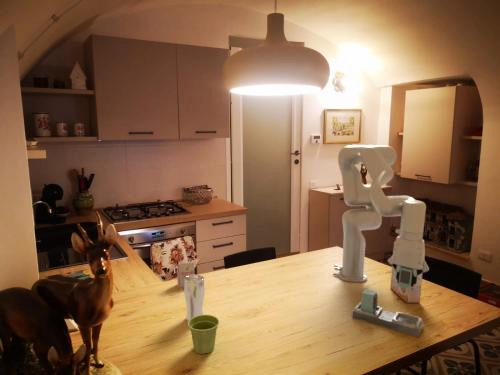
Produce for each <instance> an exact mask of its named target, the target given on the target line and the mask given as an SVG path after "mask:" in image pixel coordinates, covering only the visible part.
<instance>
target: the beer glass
mask: <svg viewBox="0 0 500 375" xmlns="http://www.w3.org/2000/svg"><path fill="white" fill-rule="evenodd" d="M183 289H184V299H185V304H186V309H187V310H186V316H185V319H186V321H187V322H188V321H189V320H190V319H191V318H193V317H195V316H199V315H204V312H203V304H204V298H205V278H204V276H203V275H201V274H195V275H189V276H187V277H185V285H184V287H183Z"/></svg>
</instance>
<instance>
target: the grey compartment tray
mask: <svg viewBox="0 0 500 375" xmlns="http://www.w3.org/2000/svg"><path fill="white" fill-rule="evenodd" d="M361 302H362V301H359V302H358V304H357V305H356V306H355V307H354V308H353V310H352V316H351V317H352V318H353V319H356V320H359V321H363V322H367V323H369V324H374V325H376V326H380V327H383V328H385V329H386V328H387V329H390V330H393V331H397V332H399V333H404V334H406V335H410V336H413V337H416V338H417V337H418V338H419V337H420V335H421V333H422V330H423V328H424V320H423V318H422V317H419V316H417V315H413V314H410V313H406V312H402V311H396V312H391V311H388V310H383V307H382V306H379V305H377V307H376V310H375V312H374V313H371V312H368V311H364V310H361Z"/></svg>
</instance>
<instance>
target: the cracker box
mask: <svg viewBox="0 0 500 375" xmlns="http://www.w3.org/2000/svg"><path fill="white" fill-rule="evenodd" d="M394 245H395V241H394V242H393V248H392V252H393V251H394ZM422 268H423V267H422ZM422 268H421V269H422ZM390 274H391V275H390V287H389V288H390V290H391V291H393V293H395V294H396V295H397V296H398V297H400V298H401V299H402V300H403V301H404V302H405V303H408V304H411V303H412V304H414V303H421V295H422V294H421V293H422V283H423V282H422V281H423V273H421V274H419V275H418V276H417V282H416V284H414V286H413V287H411V288H410V289H408V288H405V287H401V286H398V285H399V283H397V279H396V274H397V272H396V270H395V269H394V267H393V266H392V265H391V273H390Z"/></svg>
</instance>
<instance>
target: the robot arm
mask: <svg viewBox="0 0 500 375" xmlns="http://www.w3.org/2000/svg"><path fill="white" fill-rule="evenodd" d="M338 152H339V153H338V157H337V163H338V167H339V170H340V173H341V179H342V181H341V182H342V192H343V201H344V203H345V204H346V205H347V207H348V206H349V207H362V206H363V207H365V208H355V209H353V208H352V209H349V210H346V211H344V213H343V214H342V216H341V217H342V218H341V222H342V229H343V242H342V243H343V246H342V264H341V265H339V264H334V265H333V269H334V270H335V271H339V272H338V278H339V279H340V280H343V281H345V282H349V283H362V282H365V281H367V280H368V276H367V274H366V273H365V257H366V255H365V253H366V238H365V236H364V235H363V233H362V231H371V230H377V229H379V228H380V227H381V226H382V222H383V221H382V220H383V218H384V217H386V218H388V217H389V218H390V217H401V218H400V227H399V229H397V228H396V229H395V231H394V232H395V234H398V236H396V239H395V241H394V242H395V245H394V244H393V247H394V251H393V250H392V255H391V256H390V257H389V258H388V259H387V262H388V263H389V265H391V267H392V266H393V267H394V269H395V270H396V272H397V274H396V279H397V283H399V276H400V267H401V266H403V267H407V268H412V269H413V275H412V280H411V286H412V287H413V286H414V284H416V282H417V276H418V275H419V274H421V273H422V274H423V273H427V272H429V270H430V268H429V267H430V266H428V264H427V262H426V260H425V258H426V257H425V255H426V254H425V253H426V249H425V248H426V247H425V246H426V245H425V240H424V239H423V237H424V228H425V218H426V211H427V205H426V203H425V202H424V201H421V200H417V199H415V198H414V197H412V196H410V195H385V193H384V191H383V189H382V187H383V185H386V184H387V183H389V182H390V181H391V180H392V179H394V175H395V172H394V170H393V169H392V165H394V164H395V163H396V162H397V157H398V156H397V152H396V149H395V148H394V147H393V146H390V145H387V144H386V145H385V144H384V145H383V144H382V145H376V144H375V145H373V144H367V145H366V144H352V145H346V146H343V147H342V148H341V149H340V150H339V151H338ZM356 165H364V167H365V169H366V171H367V173H368V174H369V177H370V178H371V184H363V177H362V173H361V171H360V169H359V168H358V167H357V166H356ZM382 217H383V218H382ZM422 267H423V268H422ZM421 268H422V269H421Z"/></svg>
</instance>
